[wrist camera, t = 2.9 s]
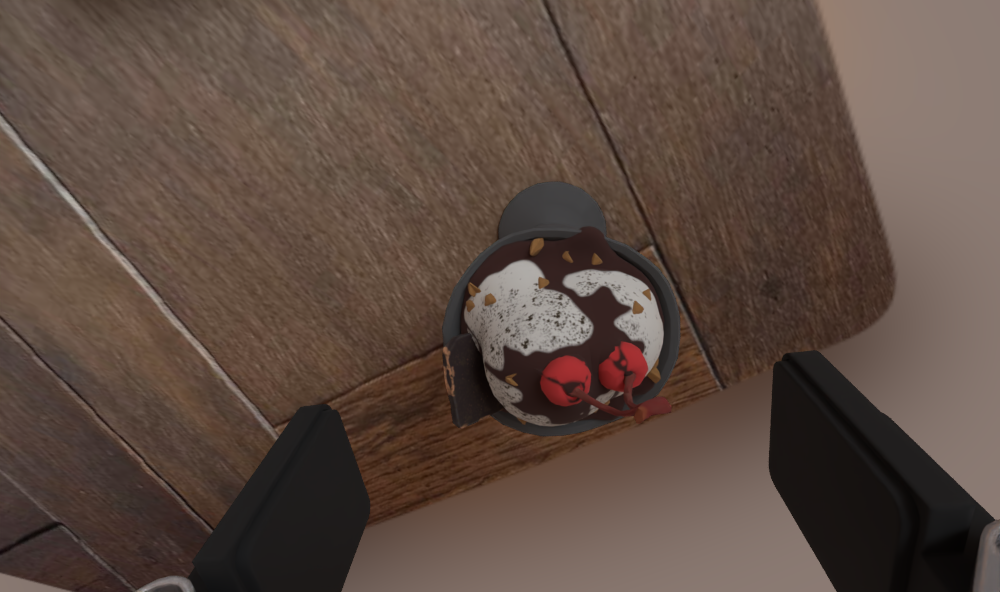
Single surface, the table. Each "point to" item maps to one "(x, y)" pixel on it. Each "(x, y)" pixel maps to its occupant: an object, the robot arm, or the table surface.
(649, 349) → the sundae
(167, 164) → the table surface
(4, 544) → the table surface
